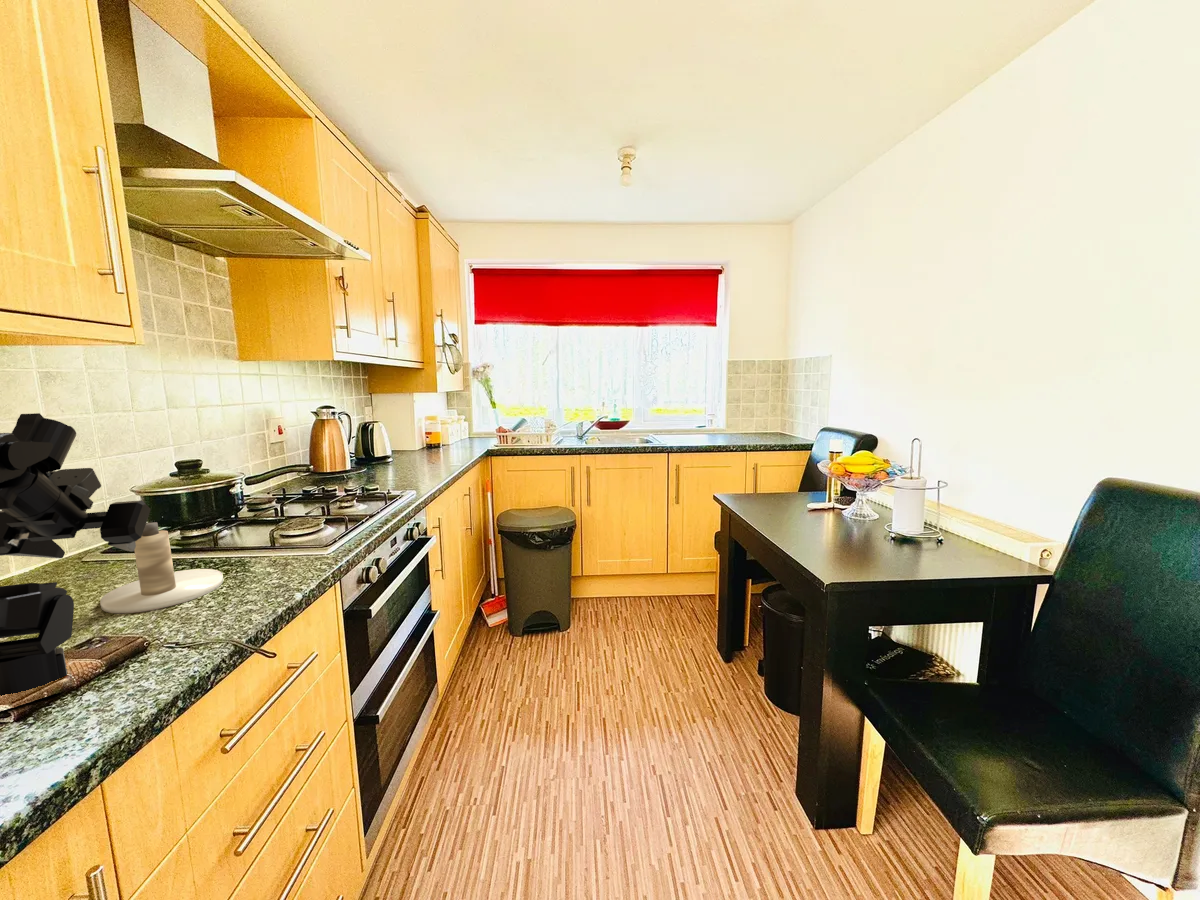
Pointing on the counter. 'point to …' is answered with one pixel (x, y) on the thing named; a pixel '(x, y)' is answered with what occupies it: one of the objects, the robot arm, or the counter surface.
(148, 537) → the pepper mill
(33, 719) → the counter surface
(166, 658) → the counter surface
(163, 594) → the plate
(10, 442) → the robot arm
